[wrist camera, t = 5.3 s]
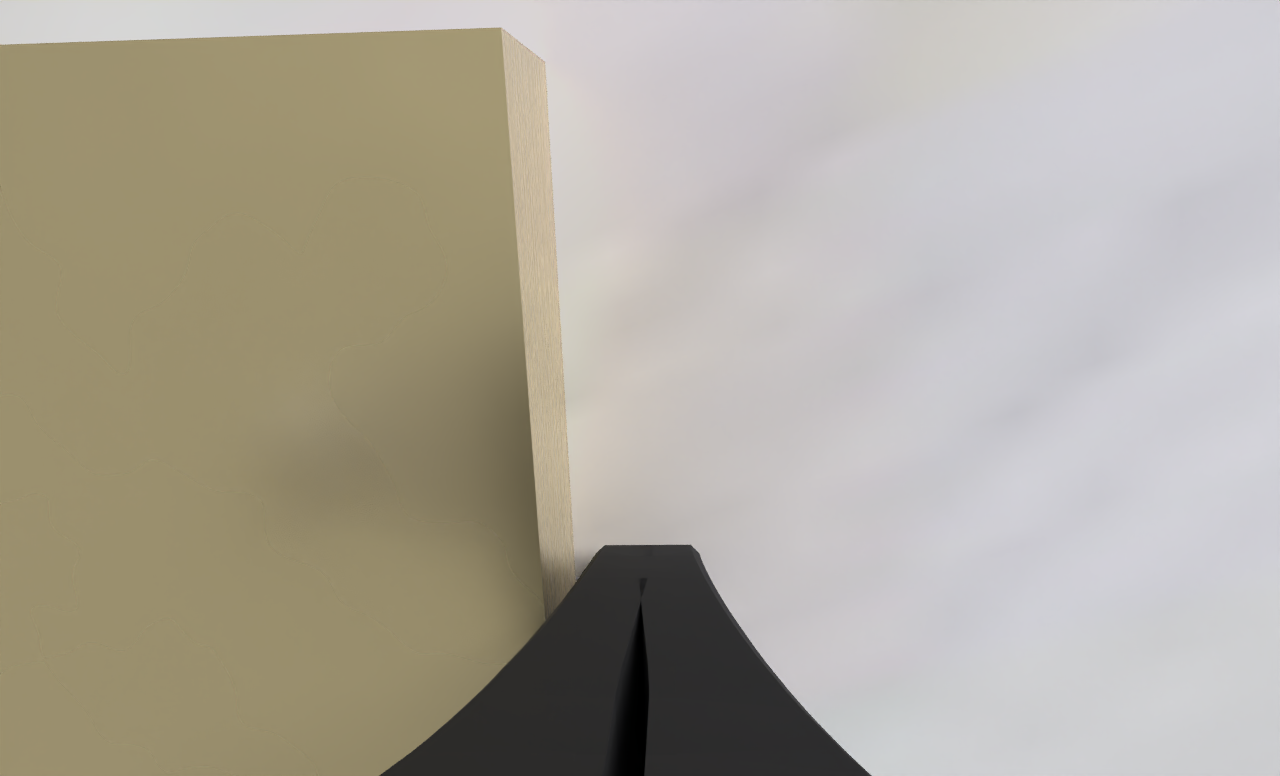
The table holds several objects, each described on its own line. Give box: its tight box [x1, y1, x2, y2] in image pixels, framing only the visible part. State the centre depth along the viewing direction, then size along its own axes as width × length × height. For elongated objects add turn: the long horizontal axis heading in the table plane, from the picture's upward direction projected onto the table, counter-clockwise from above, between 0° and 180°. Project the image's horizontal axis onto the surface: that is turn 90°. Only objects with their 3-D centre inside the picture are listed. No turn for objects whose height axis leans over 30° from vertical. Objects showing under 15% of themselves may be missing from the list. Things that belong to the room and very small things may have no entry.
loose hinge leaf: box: [0, 28, 576, 776], centre depth 9 cm, size 13×10×3 cm
